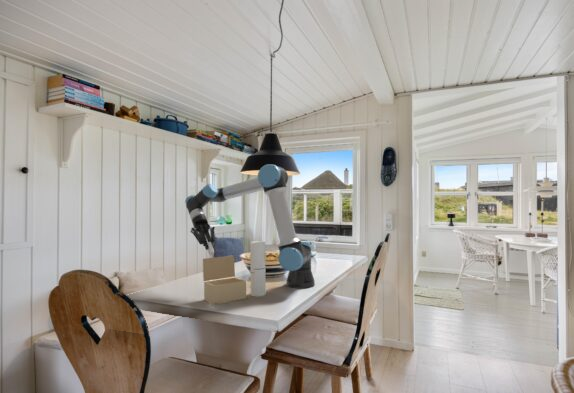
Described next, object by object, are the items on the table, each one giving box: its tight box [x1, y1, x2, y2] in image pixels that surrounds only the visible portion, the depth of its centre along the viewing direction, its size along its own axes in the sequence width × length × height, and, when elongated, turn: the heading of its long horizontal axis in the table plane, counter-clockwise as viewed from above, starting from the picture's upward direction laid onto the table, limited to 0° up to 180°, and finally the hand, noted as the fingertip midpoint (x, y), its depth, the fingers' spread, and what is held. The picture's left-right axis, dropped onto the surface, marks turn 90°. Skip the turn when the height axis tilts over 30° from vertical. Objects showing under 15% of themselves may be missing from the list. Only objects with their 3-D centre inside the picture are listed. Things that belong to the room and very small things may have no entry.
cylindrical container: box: [249, 240, 267, 297], centre depth 157 cm, size 7×7×25 cm
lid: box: [202, 255, 236, 282], centre depth 154 cm, size 10×16×1 cm
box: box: [203, 276, 247, 306], centre depth 149 cm, size 10×16×8 cm, turn 127°
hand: (212, 253), depth 161 cm, fingers closed
